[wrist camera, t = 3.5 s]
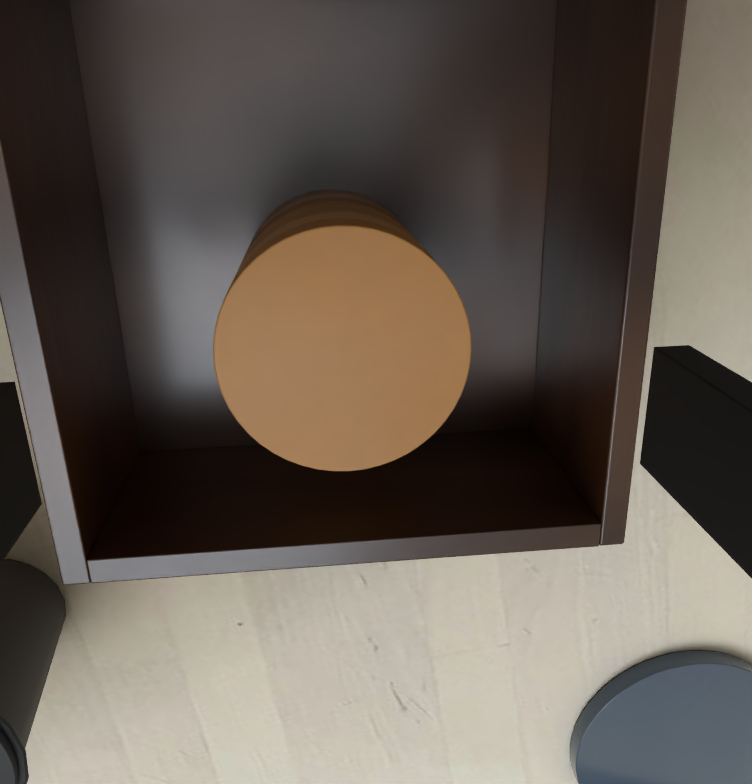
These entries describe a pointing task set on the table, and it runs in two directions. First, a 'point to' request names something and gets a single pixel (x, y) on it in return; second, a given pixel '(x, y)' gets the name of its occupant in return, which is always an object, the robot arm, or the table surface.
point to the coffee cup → (24, 657)
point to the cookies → (340, 336)
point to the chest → (315, 173)
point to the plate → (669, 724)
